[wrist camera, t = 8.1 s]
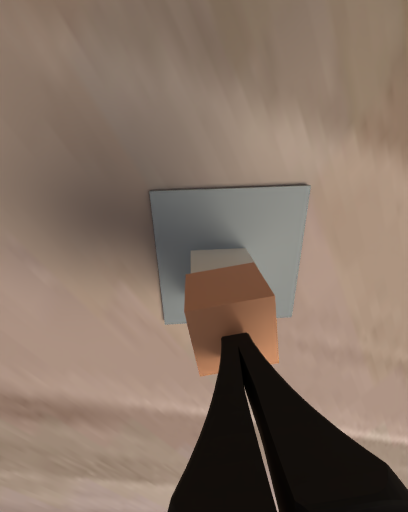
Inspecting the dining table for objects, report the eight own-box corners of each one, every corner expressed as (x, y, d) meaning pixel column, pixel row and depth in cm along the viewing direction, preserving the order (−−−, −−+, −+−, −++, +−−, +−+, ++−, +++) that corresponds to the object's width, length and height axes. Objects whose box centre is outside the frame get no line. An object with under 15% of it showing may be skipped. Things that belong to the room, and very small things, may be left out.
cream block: (245, 247, 19) (259, 269, 15) (243, 295, 20) (255, 324, 17) (190, 250, 18) (190, 272, 15) (193, 297, 20) (193, 328, 16)
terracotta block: (253, 262, 15) (275, 295, 11) (259, 317, 16) (278, 362, 13) (185, 274, 15) (184, 311, 11) (197, 328, 16) (200, 376, 13)
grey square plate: (307, 185, 17) (310, 185, 17) (289, 313, 22) (291, 317, 22) (150, 190, 17) (149, 191, 16) (165, 321, 22) (164, 324, 21)
